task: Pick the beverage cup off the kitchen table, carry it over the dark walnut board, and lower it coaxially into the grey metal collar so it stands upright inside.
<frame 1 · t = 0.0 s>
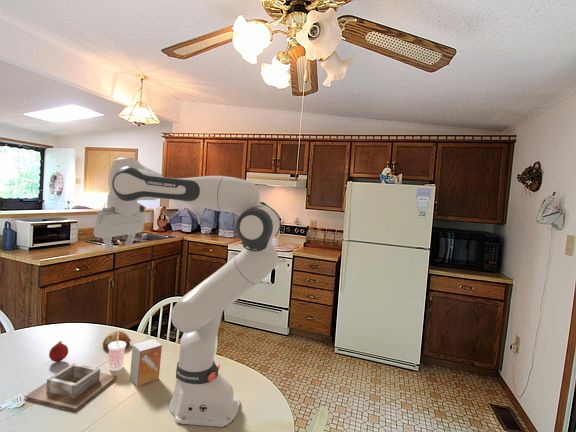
hand: (119, 248, 107), 48 cm above the table, tool pointing down, fingers open, 8 cm apart
beverage cup: (115, 368, 121), on the table
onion: (58, 362, 121), on the table
bread roll: (117, 346, 137), on the table
small box: (144, 379, 116), on the table
walnut board: (73, 388, 107), on the table
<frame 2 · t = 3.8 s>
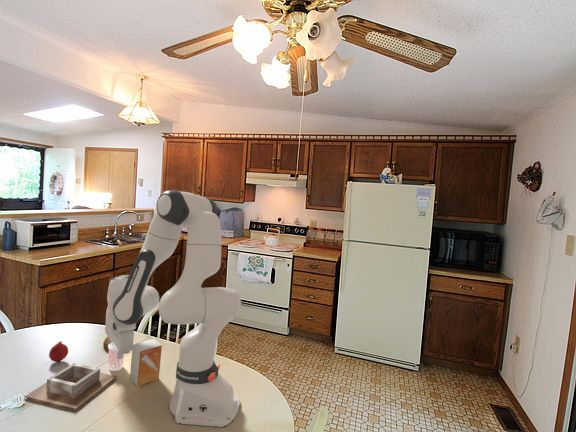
hand: (116, 353, 121), 5 cm above the table, tool pointing down, fingers closed on beverage cup, 6 cm apart
beverage cup: (115, 367, 121), on the table, touching gripper
everything else where it was.
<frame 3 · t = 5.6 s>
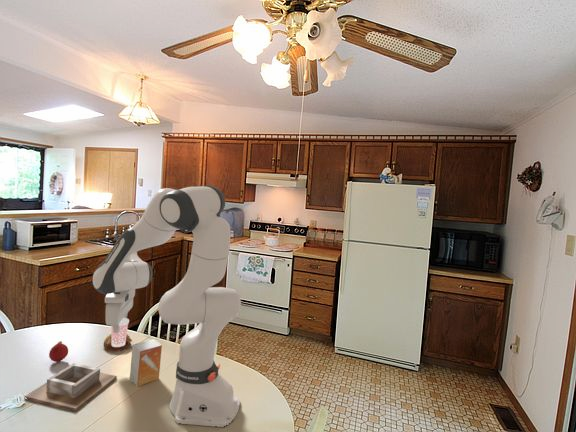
hand: (119, 327, 120), 16 cm above the table, tool pointing down, fingers closed on beverage cup, 6 cm apart
beverage cup: (118, 344, 120), point 9 cm above the table, touching gripper
everything else where it was.
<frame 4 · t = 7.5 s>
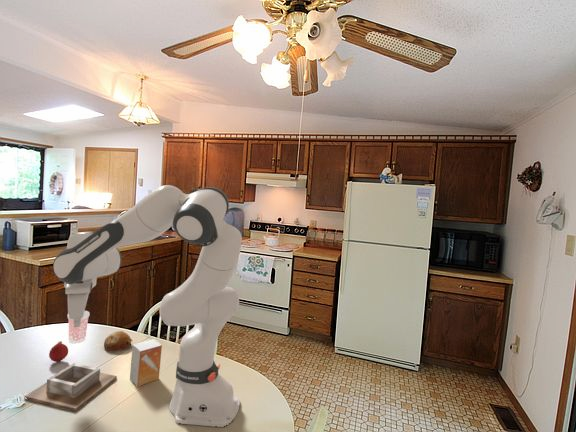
hand: (78, 321, 106), 23 cm above the table, tool pointing down, fingers closed on beverage cup, 6 cm apart
beverage cup: (77, 340, 106), point 16 cm above the table, touching gripper
everything else where it was.
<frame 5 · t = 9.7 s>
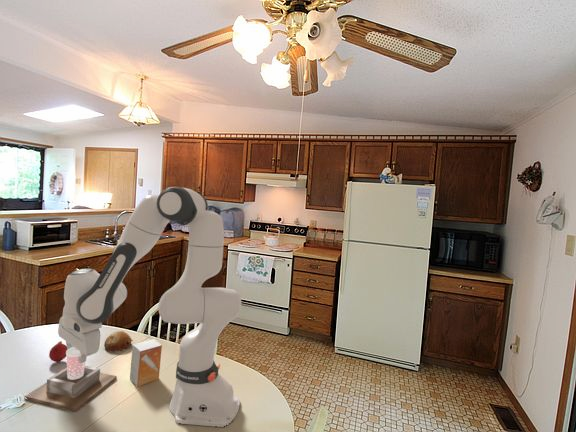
hand: (76, 357, 107), 10 cm above the table, tool pointing down, fingers closed on beverage cup, 6 cm apart
beverage cup: (75, 376, 108), point 4 cm above the table, touching gripper
everything else where it was.
when the fingers open (8 cm above the table, at t = 11.3 s): beverage cup stays where it is, resting on walnut board.
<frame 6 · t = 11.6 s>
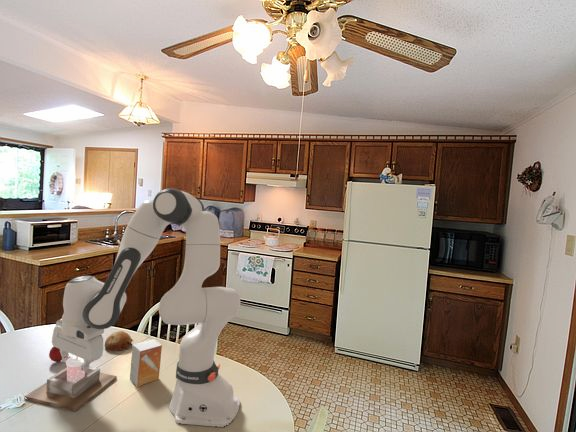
hand: (75, 365, 107), 8 cm above the table, tool pointing down, fingers open, 8 cm apart
beverage cup: (75, 386, 107), point 1 cm above the table, touching walnut board
everything else where it was.
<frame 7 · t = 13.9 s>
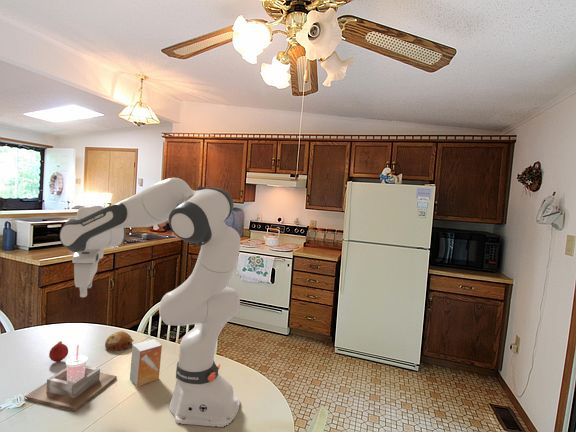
hand: (86, 291, 111), 31 cm above the table, tool pointing down, fingers open, 8 cm apart
nothing on the table moved.
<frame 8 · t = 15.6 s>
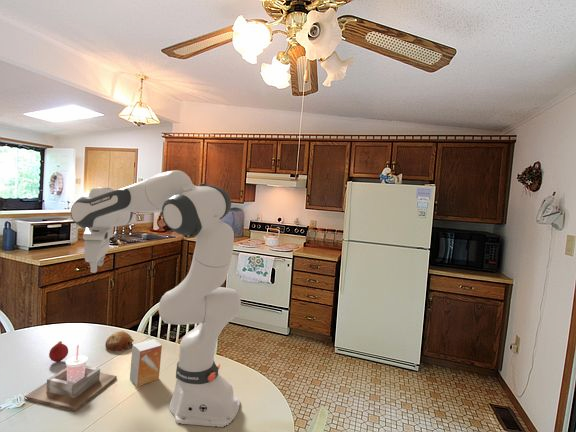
hand: (97, 268, 118), 37 cm above the table, tool pointing down, fingers open, 8 cm apart
at the end: beverage cup 0.5 cm off-centre on the walnut board, point 0.8 cm above the walnut board's base; beverage cup tilted 0°; the gripper is holding nothing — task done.
